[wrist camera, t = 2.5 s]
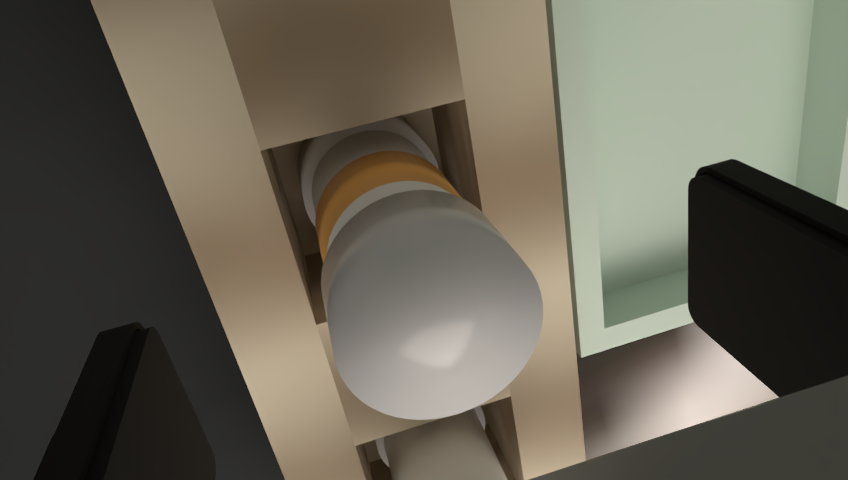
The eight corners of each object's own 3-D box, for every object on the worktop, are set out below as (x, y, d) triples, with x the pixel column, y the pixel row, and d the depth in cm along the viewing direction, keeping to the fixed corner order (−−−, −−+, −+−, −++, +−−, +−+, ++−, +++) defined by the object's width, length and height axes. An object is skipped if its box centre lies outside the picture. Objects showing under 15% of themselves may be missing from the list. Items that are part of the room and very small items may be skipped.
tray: (497, -179, 14) (535, -196, 13) (848, -247, 16) (932, -272, 14) (550, 318, 21) (581, 357, 19) (795, 244, 22) (847, 273, 20)
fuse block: (-11, -394, 11) (-131, -544, 8) (423, -451, 12) (491, -606, 9) (323, 499, 22) (336, 606, 18) (538, 428, 23) (590, 517, 20)
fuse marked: (282, 121, 16) (306, 271, 9) (410, 89, 16) (531, 208, 9) (316, 237, 17) (361, 444, 10) (433, 205, 18) (552, 384, 11)
